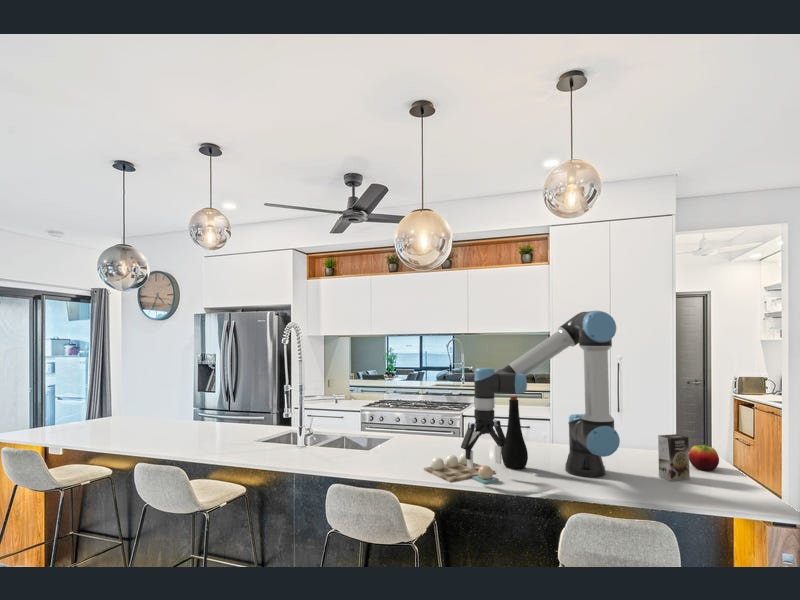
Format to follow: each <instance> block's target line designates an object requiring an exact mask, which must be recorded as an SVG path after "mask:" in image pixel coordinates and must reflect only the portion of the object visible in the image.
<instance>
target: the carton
mask: <svg viewBox="0 0 800 600" xmlns="http://www.w3.org/2000/svg"><path fill="white" fill-rule="evenodd" d="M481 466H482V465H481V464H478V463H475V462H473V469H470V468H468V467H467V465H466V466H464V465H461V464H460V462H459V461H458V466H457V467H455V468H449V467H447V466H446V464H445V463H444V468H443V469H442V470H438V471H435V470H433V469H432V467H431V466H427V467H423V471H425V472H427V473H429V474H431V475H433V476H436V477H437V478H440V479H442V480H443V481H446V482H448V483H452V482H458V481H463V480H468V479H472V477H474V476H479V475H478V470H479V468H480V467H481ZM492 471H493V475H495V474H496V471H495V470H494V469H492Z"/></svg>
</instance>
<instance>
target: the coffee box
mask: <svg viewBox="0 0 800 600" xmlns="http://www.w3.org/2000/svg"><path fill="white" fill-rule="evenodd" d="M657 441H658V442H657V443H658V445H657V446H658V447H657V448H658V477H660V478H663V479H664V480H668V481H670V482H676V481H677V482H678V481H683V480H684V481H685V480H690V479H691V478H690V477H691V475H690V461H689V452H690V448H689V446H690V445H689V441H690V440H689V437H688V436H685V435H680V434H673V433H672V434H660V435H657Z"/></svg>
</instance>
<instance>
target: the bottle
mask: <svg viewBox="0 0 800 600" xmlns="http://www.w3.org/2000/svg"><path fill="white" fill-rule="evenodd" d="M509 397H510V398H509V399H508V401H509V404H508V405H509V406H508V420H507V429H506V434H505V438H506V441H507V444H505V446H504V447H503V451H502V452H503V453H502V454H501V461H502V463H503V465H504V467H505V468H506V469H510V470H524V469H525V467H526V466H527V464H528V459H529V454H528V448H527V446H526V445H527V444H526V442H525V439H524V436H523V432H522V426H521V418H520V408H519V399H518V396H517V395H509Z"/></svg>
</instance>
